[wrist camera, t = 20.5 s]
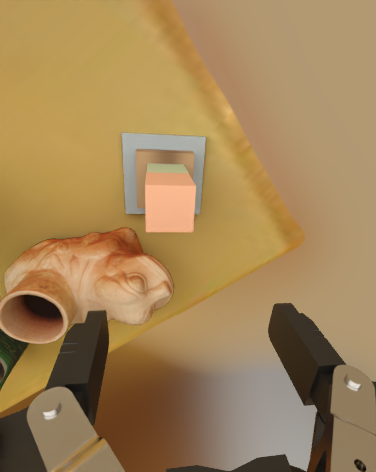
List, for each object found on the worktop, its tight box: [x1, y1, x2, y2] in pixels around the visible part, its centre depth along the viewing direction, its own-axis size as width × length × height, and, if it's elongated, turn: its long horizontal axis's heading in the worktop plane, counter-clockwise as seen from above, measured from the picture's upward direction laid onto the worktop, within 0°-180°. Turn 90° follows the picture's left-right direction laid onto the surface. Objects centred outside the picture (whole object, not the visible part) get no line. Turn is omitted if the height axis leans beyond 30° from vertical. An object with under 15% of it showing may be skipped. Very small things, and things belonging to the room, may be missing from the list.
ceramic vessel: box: [0, 228, 174, 344], centre depth 40 cm, size 14×26×15 cm, turn 98°
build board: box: [122, 133, 206, 214], centre depth 41 cm, size 12×12×1 cm
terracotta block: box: [145, 172, 196, 232], centre depth 30 cm, size 5×5×6 cm
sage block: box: [147, 163, 189, 173], centre depth 35 cm, size 5×5×6 cm
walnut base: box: [136, 149, 194, 208], centre depth 39 cm, size 8×8×3 cm
